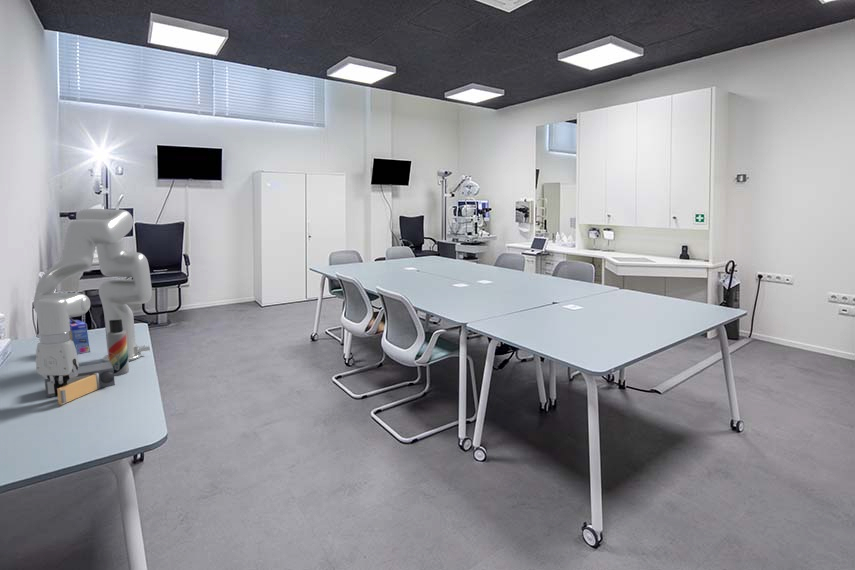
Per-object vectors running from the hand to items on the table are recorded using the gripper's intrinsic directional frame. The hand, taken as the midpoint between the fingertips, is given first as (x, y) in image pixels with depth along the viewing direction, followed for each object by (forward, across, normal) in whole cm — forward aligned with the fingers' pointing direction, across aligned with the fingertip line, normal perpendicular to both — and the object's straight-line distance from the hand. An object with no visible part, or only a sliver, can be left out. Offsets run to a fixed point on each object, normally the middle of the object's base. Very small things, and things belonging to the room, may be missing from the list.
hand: (61, 394), depth 146 cm
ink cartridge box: (+2, -30, +48) cm, 57 cm away
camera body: (+2, -1, +10) cm, 10 cm away
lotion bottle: (+2, +2, +24) cm, 24 cm away
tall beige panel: (+1, +4, +2) cm, 5 cm away
